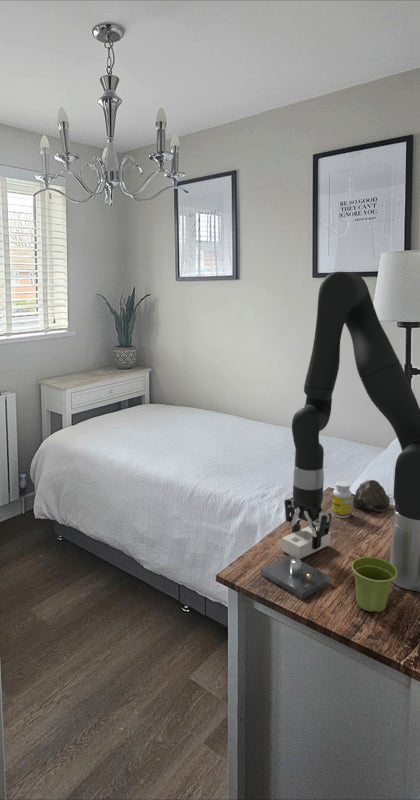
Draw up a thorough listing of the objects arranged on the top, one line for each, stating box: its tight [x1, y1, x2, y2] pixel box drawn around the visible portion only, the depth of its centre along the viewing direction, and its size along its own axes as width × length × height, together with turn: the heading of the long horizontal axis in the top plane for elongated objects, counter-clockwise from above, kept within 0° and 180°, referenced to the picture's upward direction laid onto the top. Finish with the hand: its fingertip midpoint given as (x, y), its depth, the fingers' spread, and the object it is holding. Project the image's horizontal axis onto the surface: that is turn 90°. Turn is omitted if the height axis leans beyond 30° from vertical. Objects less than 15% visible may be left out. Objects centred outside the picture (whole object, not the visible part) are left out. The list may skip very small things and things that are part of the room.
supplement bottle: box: [331, 480, 353, 519], centre depth 155 cm, size 5×5×10 cm
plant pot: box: [351, 556, 398, 613], centre depth 112 cm, size 9×9×9 cm
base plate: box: [260, 554, 332, 600], centre depth 122 cm, size 13×10×4 cm
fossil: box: [352, 479, 391, 514], centre depth 161 cm, size 11×9×10 cm
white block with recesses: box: [280, 525, 331, 560], centre depth 136 cm, size 12×6×4 cm, turn 128°
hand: (305, 543), depth 136 cm, fingers closed on white block with recesses, 6 cm apart
